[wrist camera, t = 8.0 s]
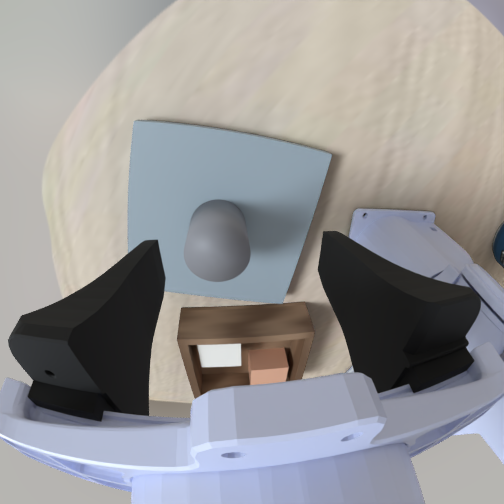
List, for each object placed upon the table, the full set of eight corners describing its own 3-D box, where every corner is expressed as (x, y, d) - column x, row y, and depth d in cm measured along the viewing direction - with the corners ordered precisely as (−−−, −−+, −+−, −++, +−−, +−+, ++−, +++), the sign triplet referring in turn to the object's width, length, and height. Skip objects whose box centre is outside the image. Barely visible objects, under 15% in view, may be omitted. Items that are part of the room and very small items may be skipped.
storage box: (304, 301, 26) (315, 331, 23) (290, 369, 33) (296, 395, 29) (181, 307, 25) (176, 339, 22) (196, 375, 32) (195, 401, 28)
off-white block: (238, 319, 26) (240, 341, 24) (239, 345, 28) (241, 365, 26) (198, 321, 26) (196, 343, 24) (202, 346, 28) (201, 367, 26)
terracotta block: (284, 347, 29) (288, 367, 27) (280, 366, 32) (284, 385, 29) (248, 350, 29) (251, 370, 27) (248, 369, 31) (250, 388, 29)
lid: (323, 149, 19) (357, 170, 14) (279, 291, 26) (291, 337, 21) (141, 118, 17) (111, 128, 12) (134, 273, 23) (117, 318, 18)
